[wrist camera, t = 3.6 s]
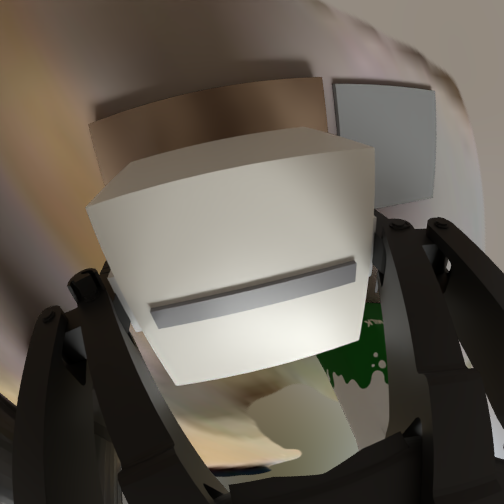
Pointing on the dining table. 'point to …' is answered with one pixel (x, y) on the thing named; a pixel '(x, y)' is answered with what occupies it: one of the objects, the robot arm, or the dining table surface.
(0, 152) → the dining table surface
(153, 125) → the post stand
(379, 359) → the milk carton
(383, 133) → the mat
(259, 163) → the white drawer box
